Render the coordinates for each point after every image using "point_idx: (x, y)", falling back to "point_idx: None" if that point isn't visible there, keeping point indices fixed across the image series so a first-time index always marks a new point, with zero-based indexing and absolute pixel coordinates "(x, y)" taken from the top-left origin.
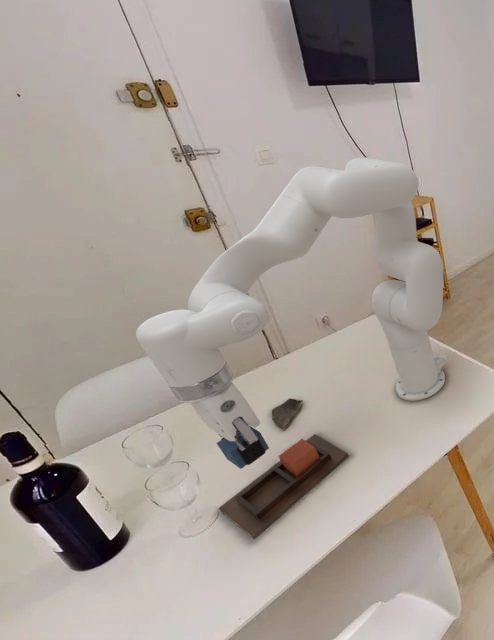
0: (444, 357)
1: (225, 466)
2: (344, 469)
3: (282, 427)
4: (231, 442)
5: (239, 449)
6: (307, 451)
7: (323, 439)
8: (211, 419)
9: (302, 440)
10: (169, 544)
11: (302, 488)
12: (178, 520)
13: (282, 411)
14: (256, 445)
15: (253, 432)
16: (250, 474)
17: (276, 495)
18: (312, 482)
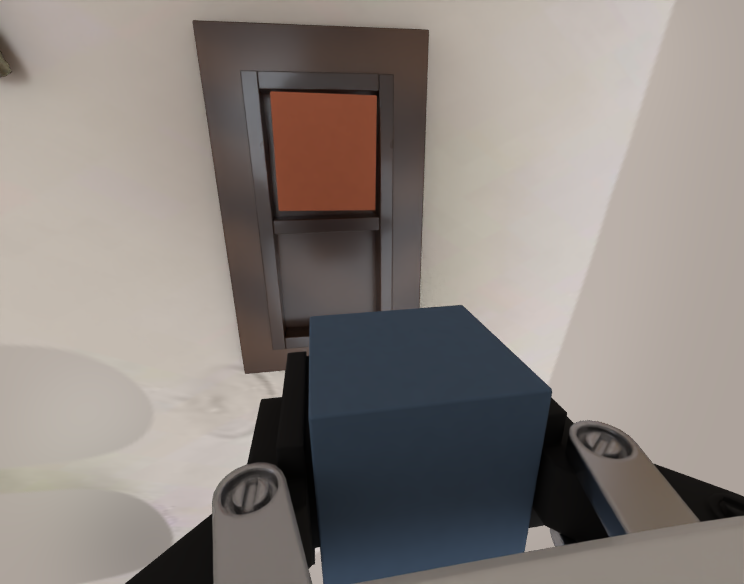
0: None
1: (51, 297)
2: (454, 89)
3: (5, 70)
4: (433, 546)
5: (536, 518)
6: (371, 129)
7: (264, 24)
8: None
9: (284, 97)
10: (240, 456)
11: (407, 215)
12: (177, 430)
13: None
14: (571, 421)
15: (681, 502)
16: (174, 268)
17: (384, 280)
18: (418, 185)
